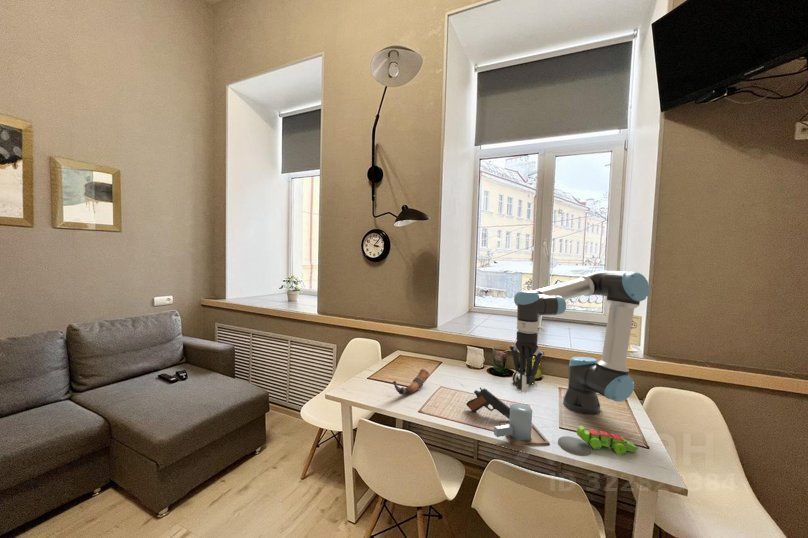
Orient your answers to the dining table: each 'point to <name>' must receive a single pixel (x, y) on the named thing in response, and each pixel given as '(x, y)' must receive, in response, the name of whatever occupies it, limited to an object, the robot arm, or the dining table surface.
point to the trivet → (574, 445)
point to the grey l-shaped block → (517, 423)
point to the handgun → (488, 402)
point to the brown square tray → (536, 440)
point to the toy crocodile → (606, 440)
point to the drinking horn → (413, 383)
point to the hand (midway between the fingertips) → (525, 391)
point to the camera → (517, 379)
